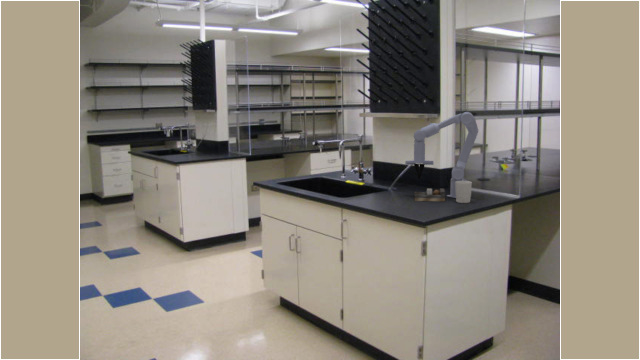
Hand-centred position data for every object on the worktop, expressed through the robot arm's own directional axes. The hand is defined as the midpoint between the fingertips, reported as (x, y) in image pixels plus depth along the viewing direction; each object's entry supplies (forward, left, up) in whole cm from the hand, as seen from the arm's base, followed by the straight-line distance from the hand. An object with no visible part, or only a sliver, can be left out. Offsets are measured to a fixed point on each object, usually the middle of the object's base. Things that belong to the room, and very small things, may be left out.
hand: (419, 178), depth 270 cm
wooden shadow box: (+3, +11, -9) cm, 15 cm away
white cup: (-7, +25, -10) cm, 28 cm away
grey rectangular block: (+2, +11, -8) cm, 14 cm away
